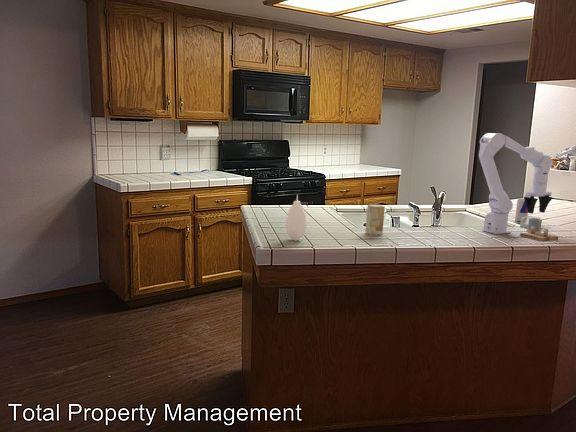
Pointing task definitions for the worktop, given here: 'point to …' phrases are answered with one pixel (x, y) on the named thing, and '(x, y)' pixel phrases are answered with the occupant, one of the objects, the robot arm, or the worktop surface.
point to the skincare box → (375, 219)
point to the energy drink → (521, 210)
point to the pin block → (538, 235)
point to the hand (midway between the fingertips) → (536, 212)
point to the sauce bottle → (296, 221)
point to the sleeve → (534, 224)
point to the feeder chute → (526, 221)
